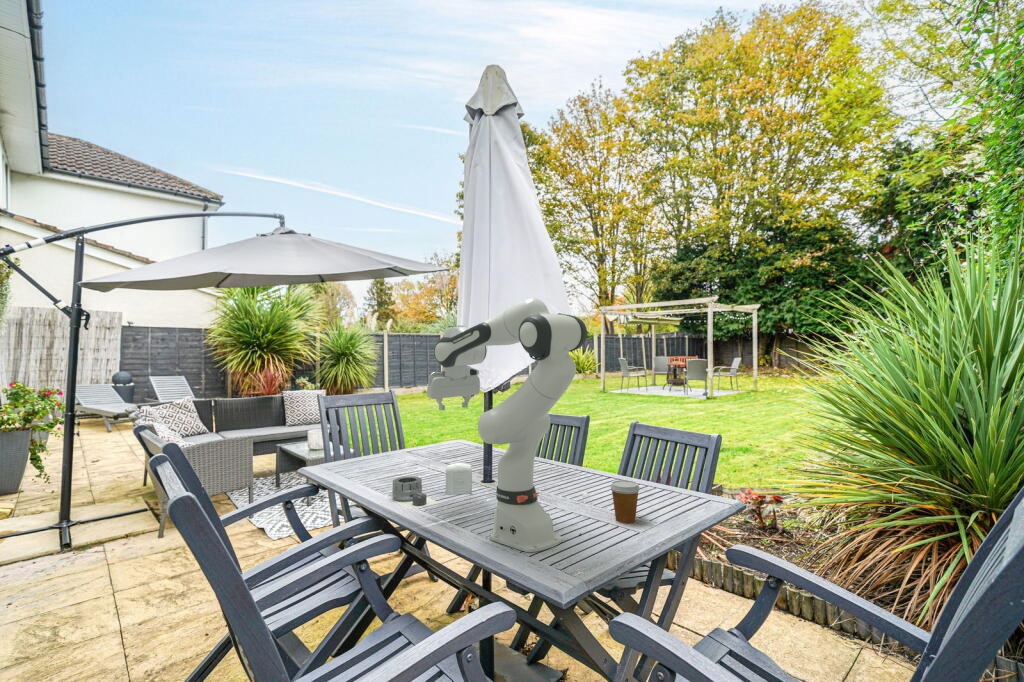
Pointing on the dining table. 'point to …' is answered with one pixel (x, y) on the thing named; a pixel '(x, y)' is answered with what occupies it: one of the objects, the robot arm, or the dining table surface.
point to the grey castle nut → (406, 488)
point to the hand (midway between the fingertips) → (453, 408)
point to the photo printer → (459, 479)
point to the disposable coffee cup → (625, 500)
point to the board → (410, 504)
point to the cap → (419, 499)
